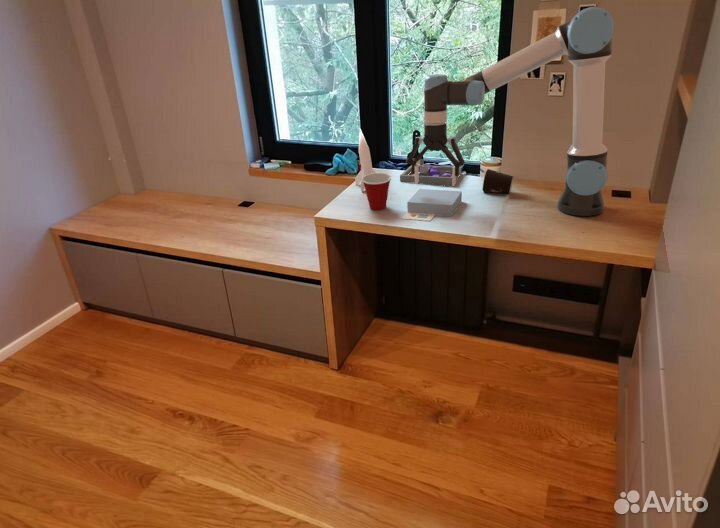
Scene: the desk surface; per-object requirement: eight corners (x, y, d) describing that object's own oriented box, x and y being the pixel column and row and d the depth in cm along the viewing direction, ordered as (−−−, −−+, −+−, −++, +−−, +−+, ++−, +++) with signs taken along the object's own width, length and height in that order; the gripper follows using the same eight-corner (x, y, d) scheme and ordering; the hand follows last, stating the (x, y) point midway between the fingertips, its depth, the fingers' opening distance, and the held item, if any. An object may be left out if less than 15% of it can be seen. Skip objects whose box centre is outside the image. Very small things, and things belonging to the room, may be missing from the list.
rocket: (356, 187, 216) (345, 128, 206) (377, 181, 218) (368, 123, 207) (361, 193, 208) (350, 132, 197) (384, 187, 209) (374, 127, 198)
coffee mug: (512, 176, 193) (485, 171, 196) (507, 198, 197) (481, 193, 200) (516, 169, 203) (490, 165, 206) (512, 190, 207) (487, 186, 210)
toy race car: (452, 185, 214) (452, 169, 211) (416, 183, 219) (416, 168, 217) (457, 178, 222) (457, 163, 219) (422, 177, 227) (422, 162, 225)
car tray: (461, 176, 224) (461, 167, 222) (452, 187, 210) (452, 178, 208) (411, 173, 232) (411, 165, 230) (400, 184, 218) (399, 175, 216)
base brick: (461, 201, 194) (461, 191, 192) (452, 216, 180) (452, 205, 179) (419, 198, 199) (419, 188, 198) (407, 212, 186) (407, 202, 184)
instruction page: (435, 214, 183) (435, 213, 183) (430, 221, 177) (430, 220, 177) (408, 212, 186) (407, 211, 186) (402, 218, 181) (402, 218, 181)
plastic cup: (359, 213, 189) (357, 180, 184) (367, 203, 198) (365, 172, 193) (389, 214, 186) (388, 181, 181) (395, 204, 195) (394, 173, 190)
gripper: (474, 121, 176) (472, 182, 185) (403, 120, 185) (404, 179, 194) (470, 125, 170) (468, 188, 179) (397, 124, 179) (398, 184, 187)
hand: (435, 183), depth 186 cm, fingers open, 13 cm apart
